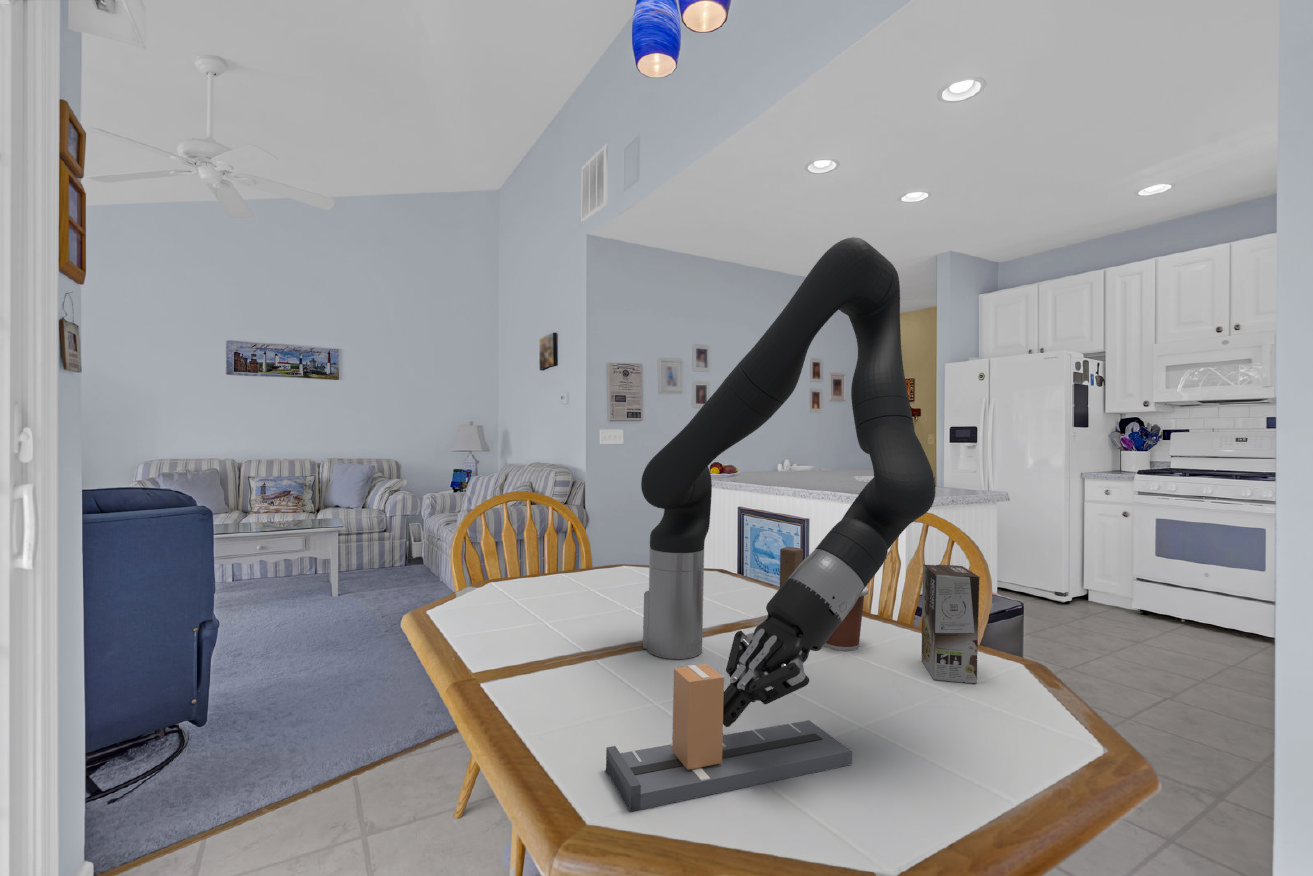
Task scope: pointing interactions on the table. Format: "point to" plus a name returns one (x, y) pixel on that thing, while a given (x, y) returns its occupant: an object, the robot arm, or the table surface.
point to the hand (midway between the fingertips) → (718, 720)
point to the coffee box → (950, 622)
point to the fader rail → (725, 764)
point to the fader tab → (698, 716)
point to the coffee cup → (848, 628)
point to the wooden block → (789, 562)
